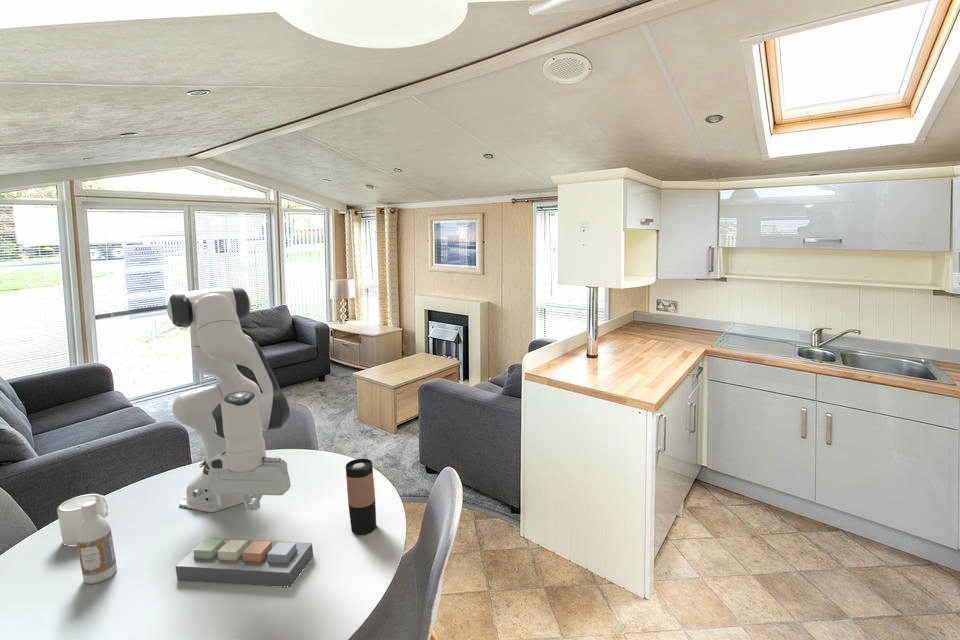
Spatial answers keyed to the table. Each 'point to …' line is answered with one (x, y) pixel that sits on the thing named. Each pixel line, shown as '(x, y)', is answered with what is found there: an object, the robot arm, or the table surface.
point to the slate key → (282, 552)
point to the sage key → (208, 549)
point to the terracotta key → (257, 551)
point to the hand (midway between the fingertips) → (252, 509)
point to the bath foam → (95, 546)
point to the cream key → (232, 550)
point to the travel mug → (361, 496)
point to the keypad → (245, 568)
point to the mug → (77, 515)
